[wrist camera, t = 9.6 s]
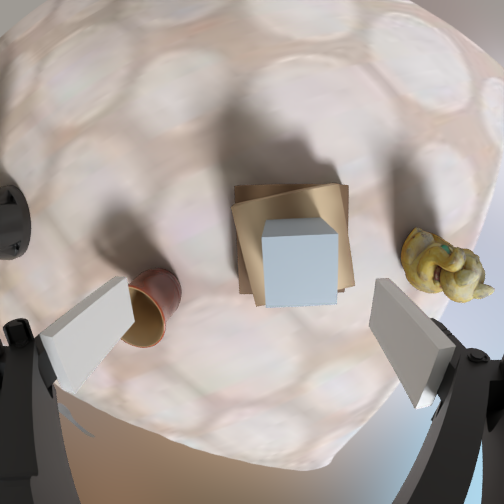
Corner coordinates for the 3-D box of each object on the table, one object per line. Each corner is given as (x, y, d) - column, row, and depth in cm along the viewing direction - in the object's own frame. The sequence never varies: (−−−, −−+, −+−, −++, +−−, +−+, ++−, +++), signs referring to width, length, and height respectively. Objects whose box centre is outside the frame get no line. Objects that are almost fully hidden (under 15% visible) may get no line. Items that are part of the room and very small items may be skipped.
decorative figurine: (450, 245, 37) (510, 276, 22) (427, 291, 39) (477, 336, 24) (408, 218, 36) (468, 241, 22) (383, 268, 38) (430, 313, 24)
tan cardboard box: (242, 283, 41) (239, 294, 38) (238, 185, 38) (234, 186, 34) (338, 281, 40) (344, 292, 36) (341, 184, 37) (348, 185, 33)
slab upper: (258, 293, 37) (256, 306, 33) (235, 203, 34) (230, 207, 31) (347, 274, 36) (355, 285, 32) (331, 182, 33) (338, 183, 29)
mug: (187, 262, 41) (161, 289, 31) (189, 316, 43) (168, 352, 33) (117, 257, 41) (80, 279, 32) (123, 307, 44) (91, 337, 34)
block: (269, 272, 32) (265, 307, 24) (266, 219, 31) (261, 237, 22) (321, 270, 32) (336, 304, 23) (321, 217, 30) (338, 233, 21)
